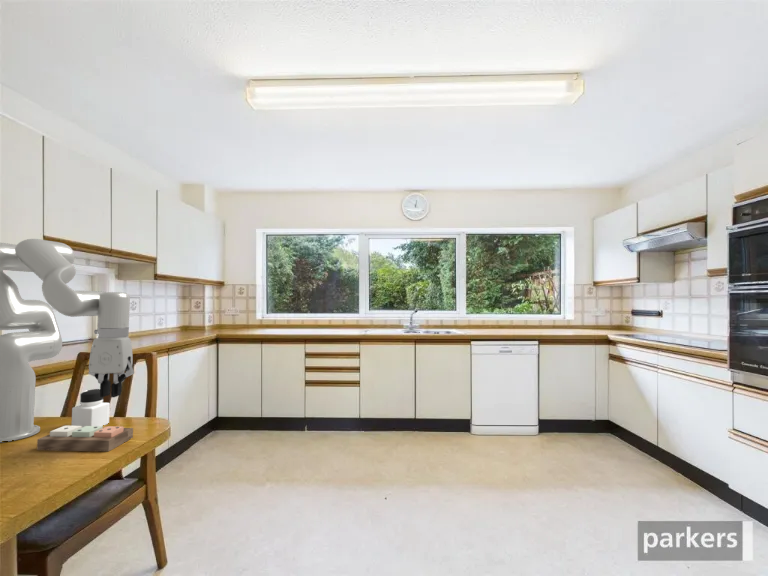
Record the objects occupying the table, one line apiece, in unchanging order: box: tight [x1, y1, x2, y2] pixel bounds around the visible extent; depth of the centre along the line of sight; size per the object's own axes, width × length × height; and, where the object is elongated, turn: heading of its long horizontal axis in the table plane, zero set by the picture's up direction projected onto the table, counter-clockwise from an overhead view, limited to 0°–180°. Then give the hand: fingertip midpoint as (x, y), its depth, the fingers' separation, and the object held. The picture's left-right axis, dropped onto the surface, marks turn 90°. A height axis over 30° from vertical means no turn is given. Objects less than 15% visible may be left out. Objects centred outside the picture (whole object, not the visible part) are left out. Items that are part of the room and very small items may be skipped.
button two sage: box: [72, 426, 104, 437], centre depth 108 cm, size 5×5×2 cm
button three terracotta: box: [94, 425, 125, 438], centre depth 108 cm, size 5×5×2 cm
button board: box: [36, 427, 134, 452], centre depth 108 cm, size 20×10×3 cm, turn 90°
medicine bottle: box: [71, 388, 111, 427], centre depth 122 cm, size 7×7×12 cm
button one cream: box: [49, 425, 82, 437], centre depth 108 cm, size 5×5×2 cm
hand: (110, 395), depth 109 cm, fingers open, 2 cm apart
